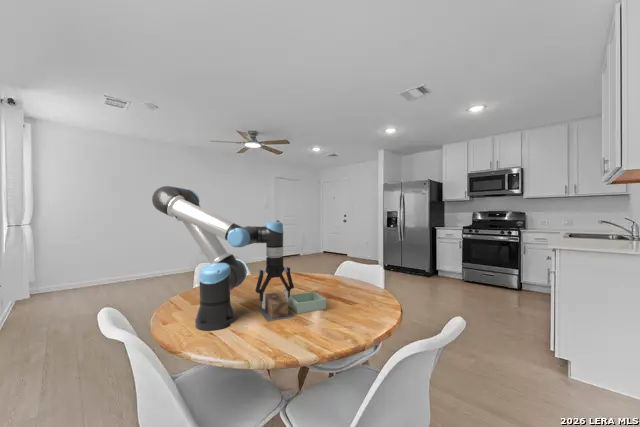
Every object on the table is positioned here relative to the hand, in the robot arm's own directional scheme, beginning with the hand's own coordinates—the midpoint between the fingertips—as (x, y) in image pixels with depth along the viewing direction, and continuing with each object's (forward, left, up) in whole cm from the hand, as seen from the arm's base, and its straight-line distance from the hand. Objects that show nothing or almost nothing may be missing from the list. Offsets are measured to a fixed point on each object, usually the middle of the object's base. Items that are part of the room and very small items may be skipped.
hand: (275, 306), depth 122 cm
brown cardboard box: (0, 0, -2) cm, 2 cm away
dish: (+15, 0, -3) cm, 15 cm away
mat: (0, 0, -3) cm, 3 cm away
